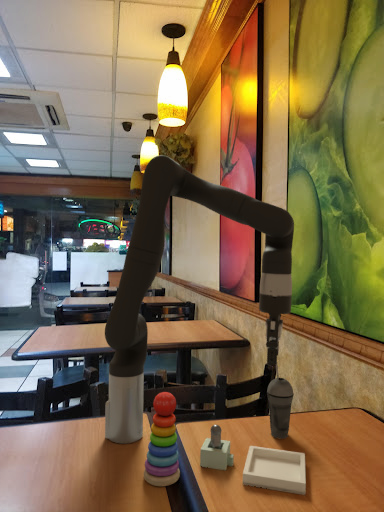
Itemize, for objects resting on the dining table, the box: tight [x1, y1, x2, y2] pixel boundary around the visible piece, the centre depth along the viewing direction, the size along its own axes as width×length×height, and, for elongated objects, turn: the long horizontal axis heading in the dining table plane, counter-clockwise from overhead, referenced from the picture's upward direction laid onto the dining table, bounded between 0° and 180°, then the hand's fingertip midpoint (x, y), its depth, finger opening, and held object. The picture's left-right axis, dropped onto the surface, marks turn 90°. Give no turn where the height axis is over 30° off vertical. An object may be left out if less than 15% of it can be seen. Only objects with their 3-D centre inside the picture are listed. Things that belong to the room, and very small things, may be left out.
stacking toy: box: [143, 391, 181, 487], centre depth 88 cm, size 8×8×19 cm
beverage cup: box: [266, 363, 295, 440], centre depth 109 cm, size 7×7×20 cm
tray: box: [242, 445, 307, 496], centre depth 90 cm, size 13×13×2 cm
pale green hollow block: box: [199, 437, 235, 471], centre depth 95 cm, size 7×6×4 cm
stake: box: [210, 424, 222, 449], centre depth 95 cm, size 3×3×9 cm
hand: (272, 359), depth 96 cm, fingers open, 8 cm apart
